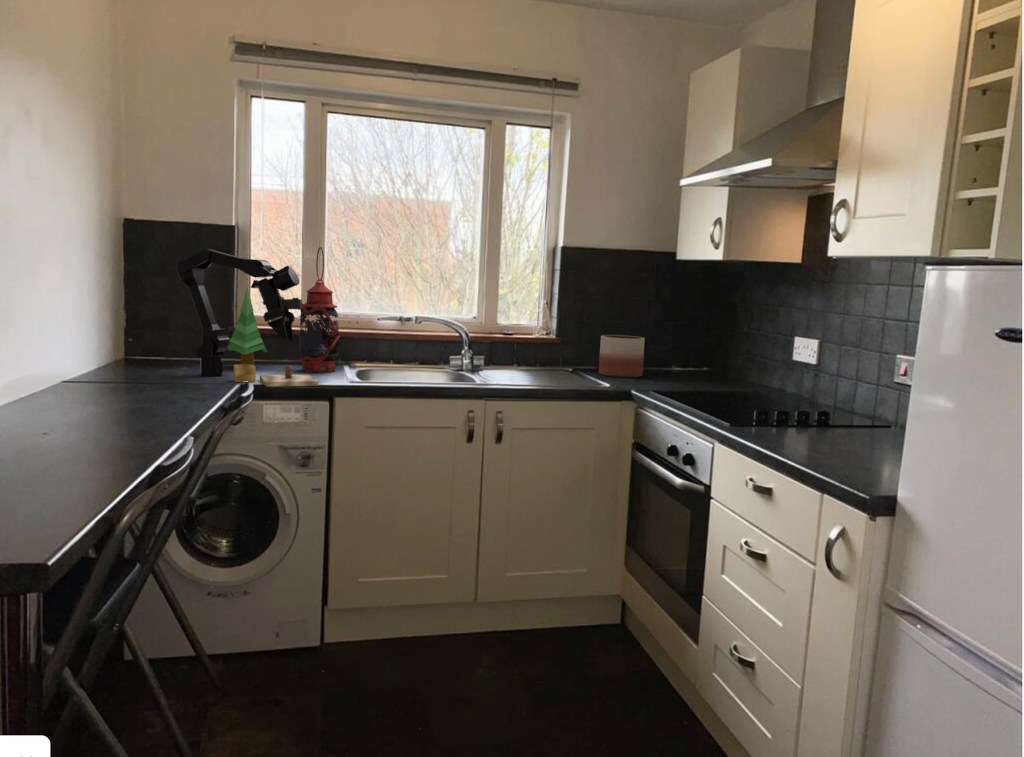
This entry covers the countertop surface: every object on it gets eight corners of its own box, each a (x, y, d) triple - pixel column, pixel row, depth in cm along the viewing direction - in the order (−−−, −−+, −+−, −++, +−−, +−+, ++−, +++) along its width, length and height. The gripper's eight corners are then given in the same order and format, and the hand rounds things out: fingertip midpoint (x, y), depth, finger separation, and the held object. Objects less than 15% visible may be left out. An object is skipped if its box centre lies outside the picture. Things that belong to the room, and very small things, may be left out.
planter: (642, 374, 319) (645, 336, 317) (642, 379, 301) (644, 339, 299) (599, 371, 322) (601, 334, 320) (596, 376, 304) (599, 336, 302)
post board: (266, 386, 239) (266, 369, 238) (259, 379, 253) (259, 363, 252) (318, 385, 245) (318, 368, 245) (308, 379, 260) (309, 362, 259)
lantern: (295, 368, 287) (296, 246, 281) (334, 368, 293) (336, 248, 287) (302, 373, 273) (304, 245, 267) (343, 373, 279) (345, 247, 273)
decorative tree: (218, 366, 282) (218, 284, 278) (259, 364, 292) (259, 285, 289) (234, 370, 272) (234, 285, 268) (275, 368, 283) (276, 286, 279)
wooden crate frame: (235, 382, 244) (235, 367, 243) (233, 380, 249) (233, 364, 249) (255, 382, 247) (255, 366, 246) (253, 379, 252) (253, 364, 251)
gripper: (288, 284, 242) (307, 330, 243) (300, 290, 261) (317, 333, 262) (254, 297, 242) (273, 343, 242) (269, 302, 260) (286, 345, 261)
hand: (289, 340), depth 252 cm, fingers open, 9 cm apart
